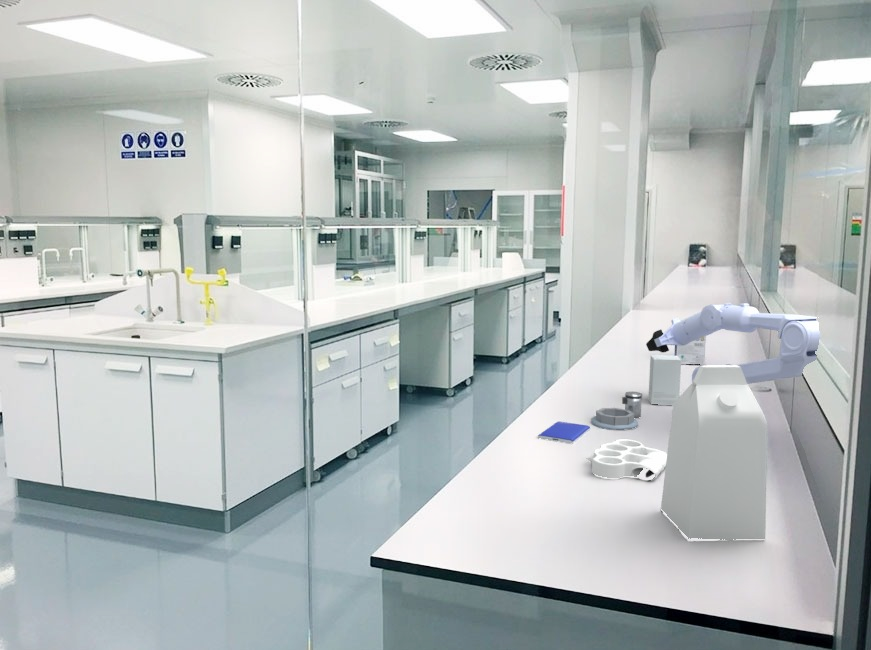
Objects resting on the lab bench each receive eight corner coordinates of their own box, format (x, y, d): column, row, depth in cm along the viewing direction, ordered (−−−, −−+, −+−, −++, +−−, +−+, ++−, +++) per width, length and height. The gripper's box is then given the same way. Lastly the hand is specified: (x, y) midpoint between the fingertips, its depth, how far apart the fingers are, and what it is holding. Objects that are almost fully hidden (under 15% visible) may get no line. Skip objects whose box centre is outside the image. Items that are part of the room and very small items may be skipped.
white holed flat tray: (650, 490, 128) (574, 474, 136) (674, 462, 143) (604, 450, 151) (651, 472, 127) (575, 458, 135) (675, 446, 143) (605, 435, 150)
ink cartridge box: (701, 362, 248) (704, 322, 246) (705, 365, 242) (707, 324, 240) (672, 361, 249) (675, 321, 247) (675, 364, 244) (677, 323, 242)
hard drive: (557, 420, 168) (538, 434, 158) (590, 425, 164) (573, 439, 154) (556, 427, 169) (537, 440, 158) (589, 432, 165) (572, 446, 154)
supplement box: (679, 406, 187) (681, 360, 185) (650, 405, 188) (652, 358, 186) (675, 400, 194) (678, 355, 192) (647, 398, 195) (650, 354, 193)
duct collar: (645, 429, 165) (646, 418, 165) (600, 430, 164) (601, 419, 163) (627, 417, 176) (628, 406, 175) (585, 418, 175) (585, 407, 174)
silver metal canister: (643, 418, 175) (644, 395, 174) (625, 419, 174) (626, 395, 173) (637, 414, 179) (638, 391, 178) (619, 414, 178) (620, 391, 177)
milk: (730, 510, 118) (740, 359, 114) (765, 540, 107) (777, 373, 103) (660, 511, 117) (668, 359, 114) (688, 541, 106) (697, 374, 102)
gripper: (708, 305, 172) (673, 321, 185) (664, 321, 167) (632, 336, 179) (720, 331, 171) (685, 345, 184) (676, 348, 166) (643, 362, 178)
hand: (659, 342), depth 181 cm, fingers open, 7 cm apart
